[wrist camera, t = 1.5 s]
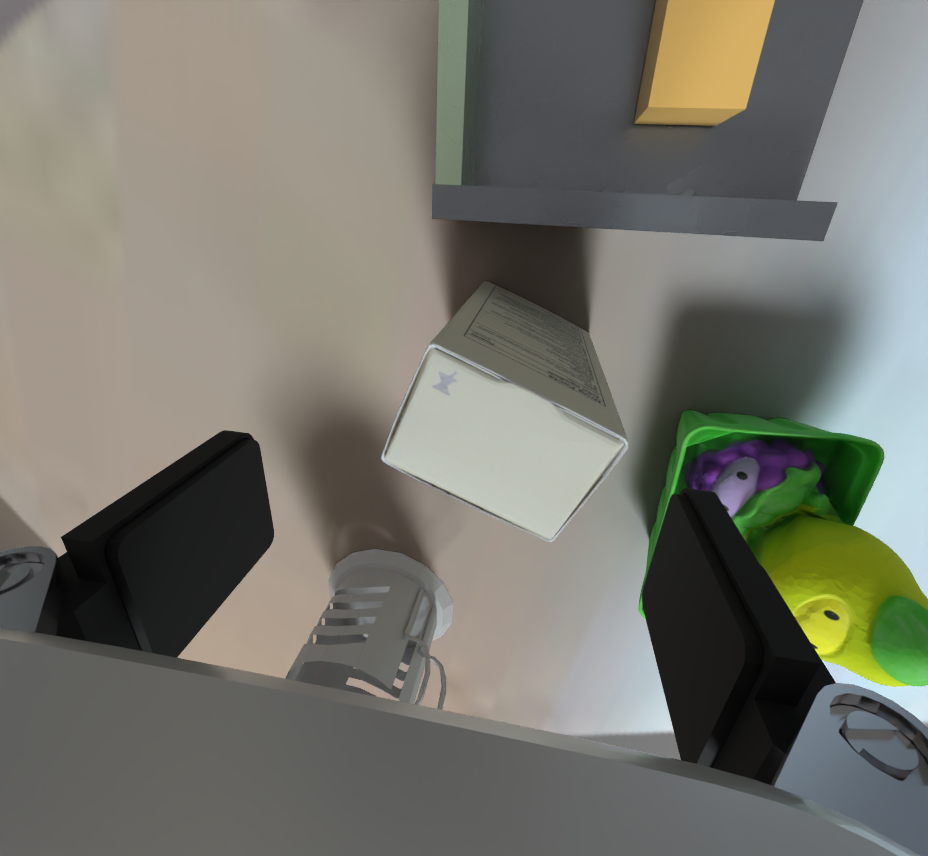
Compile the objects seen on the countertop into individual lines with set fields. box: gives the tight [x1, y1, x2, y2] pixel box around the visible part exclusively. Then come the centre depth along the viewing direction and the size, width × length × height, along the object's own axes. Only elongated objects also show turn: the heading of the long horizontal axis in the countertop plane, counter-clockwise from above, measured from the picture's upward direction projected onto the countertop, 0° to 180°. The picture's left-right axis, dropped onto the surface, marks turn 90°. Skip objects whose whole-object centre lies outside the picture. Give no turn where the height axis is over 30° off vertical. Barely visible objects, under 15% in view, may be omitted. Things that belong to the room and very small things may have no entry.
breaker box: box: [432, 0, 863, 241], centre depth 16 cm, size 14×12×4 cm
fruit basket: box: [639, 410, 928, 687], centre depth 20 cm, size 11×9×11 cm
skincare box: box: [381, 281, 629, 542], centre depth 18 cm, size 6×4×12 cm
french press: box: [286, 549, 453, 710], centre depth 22 cm, size 10×12×25 cm
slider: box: [634, 0, 775, 126], centre depth 15 cm, size 3×5×3 cm, turn 178°
